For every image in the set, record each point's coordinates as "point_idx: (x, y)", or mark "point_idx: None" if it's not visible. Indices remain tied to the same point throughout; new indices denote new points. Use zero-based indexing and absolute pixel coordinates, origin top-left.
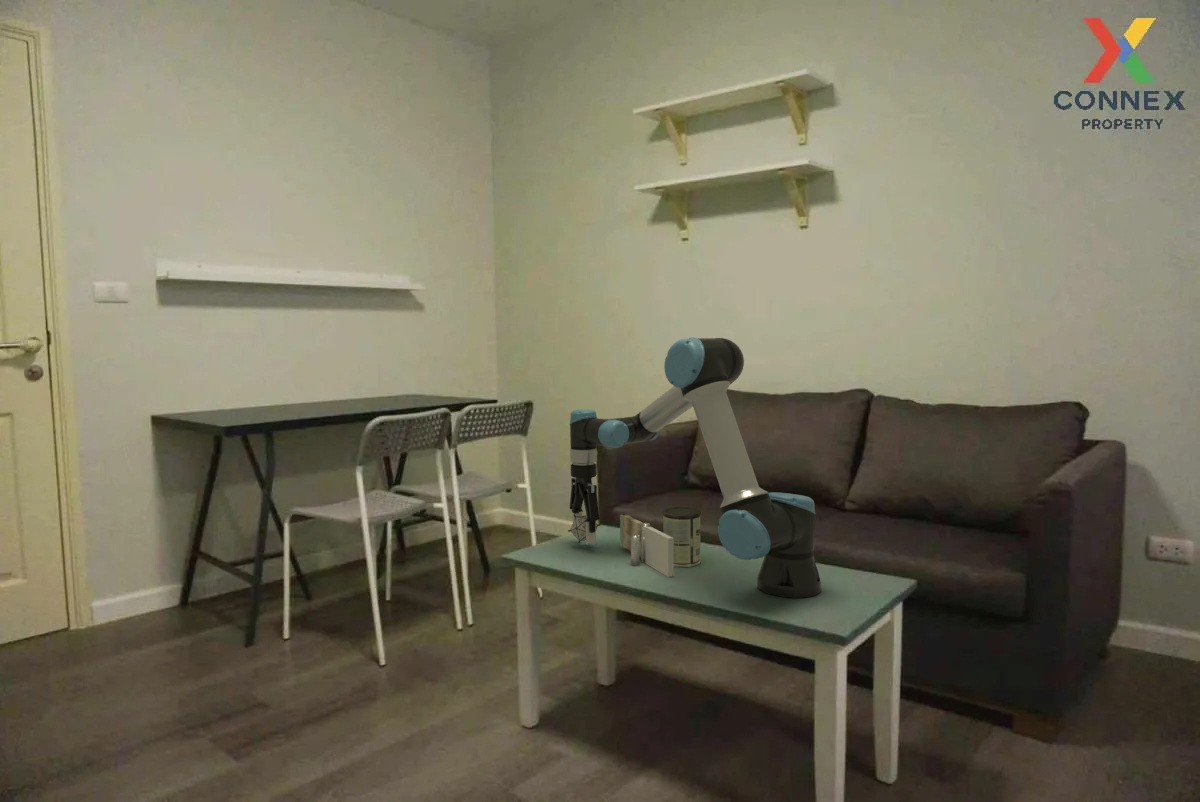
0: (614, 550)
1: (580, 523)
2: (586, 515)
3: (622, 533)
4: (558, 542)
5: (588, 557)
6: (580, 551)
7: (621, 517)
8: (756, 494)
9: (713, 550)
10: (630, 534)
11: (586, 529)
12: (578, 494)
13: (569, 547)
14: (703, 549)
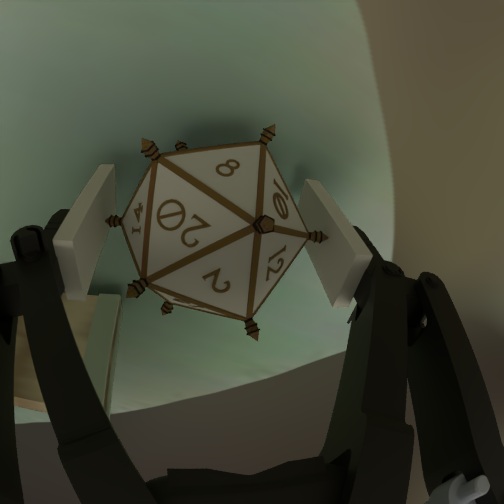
0: (109, 261)
1: (159, 207)
2: (247, 307)
3: (88, 335)
4: (361, 116)
5: (47, 126)
6: (153, 128)
7: None
8: None
9: None
10: (22, 339)
11: (84, 204)
12: (348, 440)
13: (252, 112)
14: None
